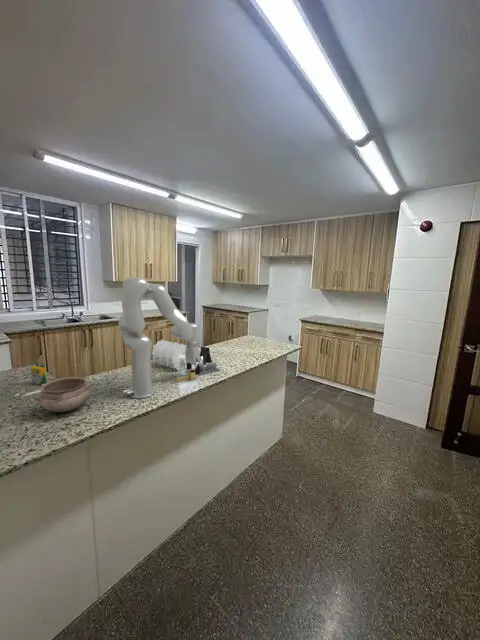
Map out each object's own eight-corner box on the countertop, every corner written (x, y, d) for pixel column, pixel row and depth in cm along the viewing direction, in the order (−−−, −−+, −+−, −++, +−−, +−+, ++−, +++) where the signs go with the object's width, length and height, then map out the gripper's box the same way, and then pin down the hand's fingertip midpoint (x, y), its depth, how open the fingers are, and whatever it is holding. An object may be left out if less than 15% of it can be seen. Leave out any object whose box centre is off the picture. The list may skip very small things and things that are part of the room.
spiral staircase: (180, 378, 173) (154, 369, 185) (197, 361, 185) (171, 353, 197) (172, 357, 163) (145, 348, 176) (190, 340, 175) (163, 333, 188)
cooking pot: (89, 394, 139) (88, 371, 137) (103, 407, 126) (101, 382, 124) (28, 410, 121) (26, 385, 119) (37, 427, 108) (34, 399, 106)
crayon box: (32, 383, 150) (29, 363, 148) (37, 381, 153) (35, 362, 151) (41, 385, 148) (39, 365, 146) (47, 383, 151) (45, 363, 149)
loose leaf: (178, 384, 154) (178, 376, 153) (175, 381, 157) (175, 373, 156) (197, 379, 162) (197, 371, 161) (193, 376, 165) (194, 368, 164)
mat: (193, 378, 164) (193, 377, 164) (184, 372, 173) (183, 371, 173) (221, 370, 177) (221, 370, 177) (211, 365, 186) (211, 365, 186)
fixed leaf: (201, 372, 173) (201, 357, 171) (199, 370, 175) (199, 356, 173) (217, 368, 181) (217, 354, 179) (214, 367, 183) (214, 353, 181)
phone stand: (203, 366, 186) (203, 349, 184) (197, 364, 190) (197, 347, 188) (212, 362, 193) (212, 346, 191) (206, 361, 197) (206, 345, 195)
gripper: (179, 342, 163) (180, 369, 166) (194, 348, 150) (195, 377, 153) (190, 340, 168) (191, 366, 171) (206, 346, 155) (206, 374, 158)
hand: (193, 371), depth 162 cm, fingers open, 9 cm apart
